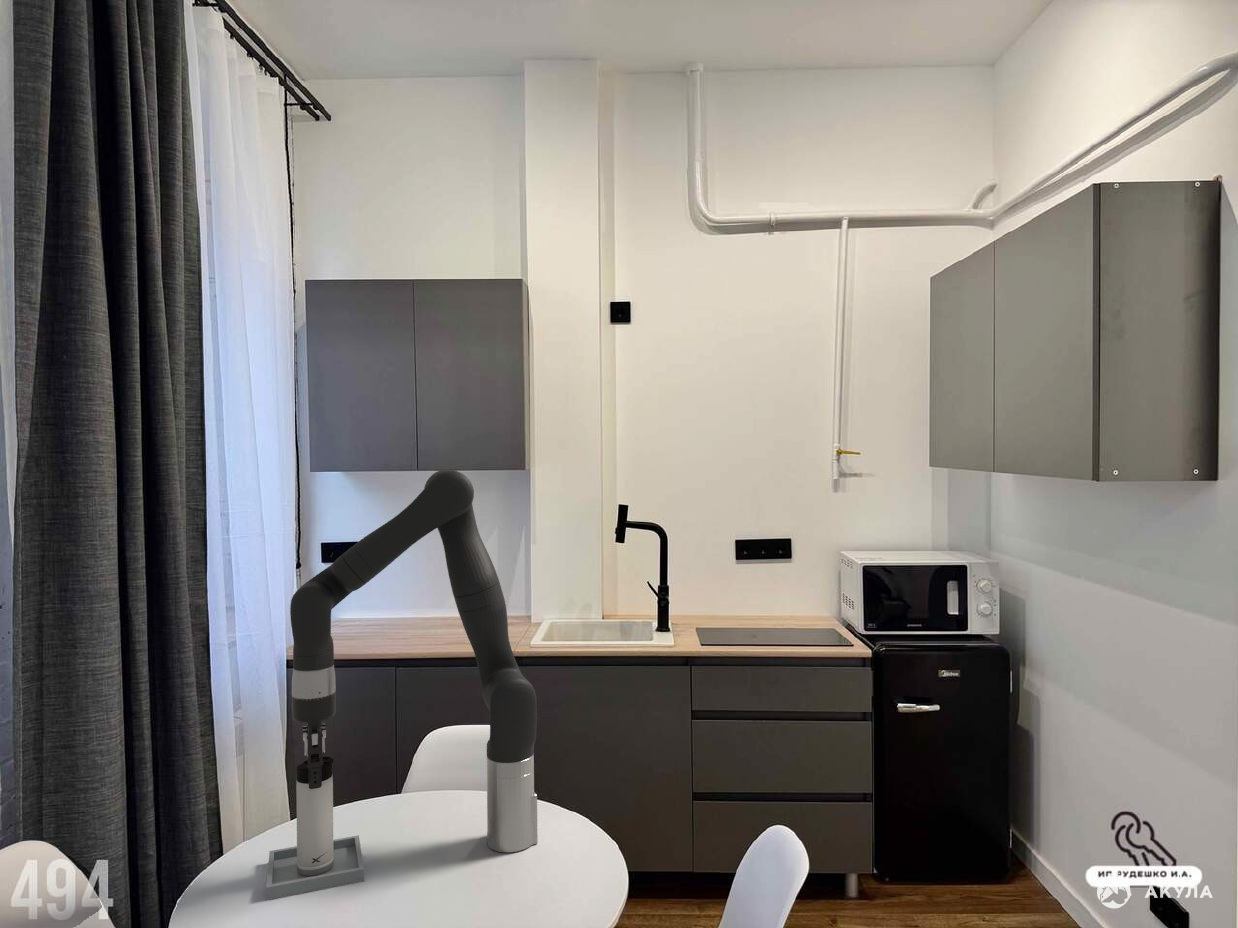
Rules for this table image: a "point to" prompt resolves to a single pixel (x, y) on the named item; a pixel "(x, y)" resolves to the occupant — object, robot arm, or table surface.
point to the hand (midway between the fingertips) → (314, 779)
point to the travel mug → (314, 821)
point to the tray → (290, 882)
